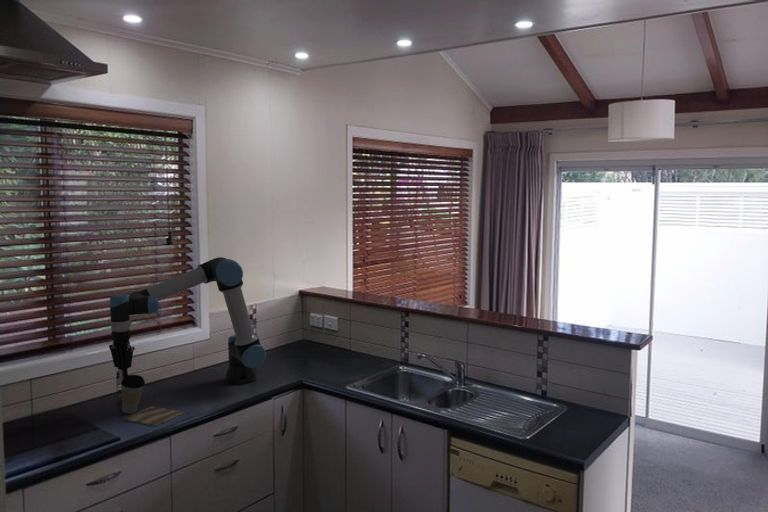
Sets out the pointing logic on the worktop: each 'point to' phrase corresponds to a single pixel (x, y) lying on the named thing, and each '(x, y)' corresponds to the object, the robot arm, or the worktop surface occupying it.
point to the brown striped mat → (153, 415)
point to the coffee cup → (131, 392)
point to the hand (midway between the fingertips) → (123, 383)
